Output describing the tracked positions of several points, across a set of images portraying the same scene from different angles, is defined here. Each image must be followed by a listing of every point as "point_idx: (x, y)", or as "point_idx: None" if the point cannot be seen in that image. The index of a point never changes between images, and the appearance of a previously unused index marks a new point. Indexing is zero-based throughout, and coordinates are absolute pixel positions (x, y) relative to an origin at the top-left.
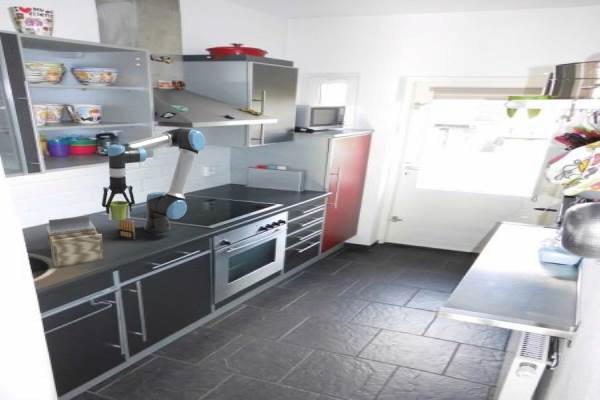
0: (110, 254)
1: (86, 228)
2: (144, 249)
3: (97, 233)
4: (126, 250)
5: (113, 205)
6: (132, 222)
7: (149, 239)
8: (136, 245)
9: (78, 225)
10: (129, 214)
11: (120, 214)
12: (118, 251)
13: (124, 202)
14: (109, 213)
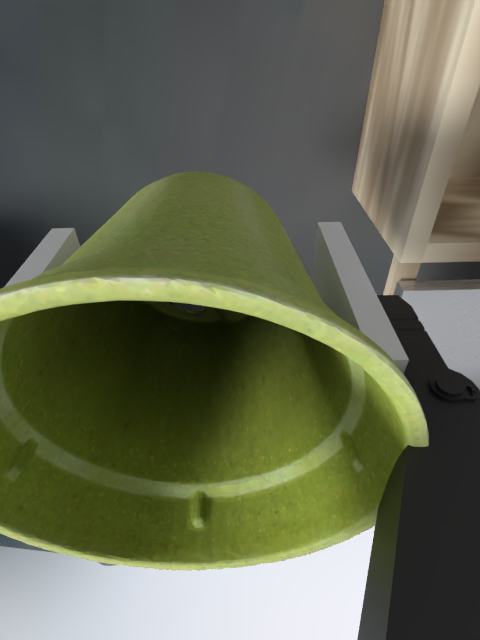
0: (303, 61)
1: (475, 295)
2: (37, 50)
3: (431, 175)
4: (178, 97)
5: (379, 348)
6: None
7: (13, 246)
8: (100, 172)
9: (478, 374)
10: (30, 259)
11: (183, 200)
12: (236, 103)
13: (45, 513)
14: (370, 284)
